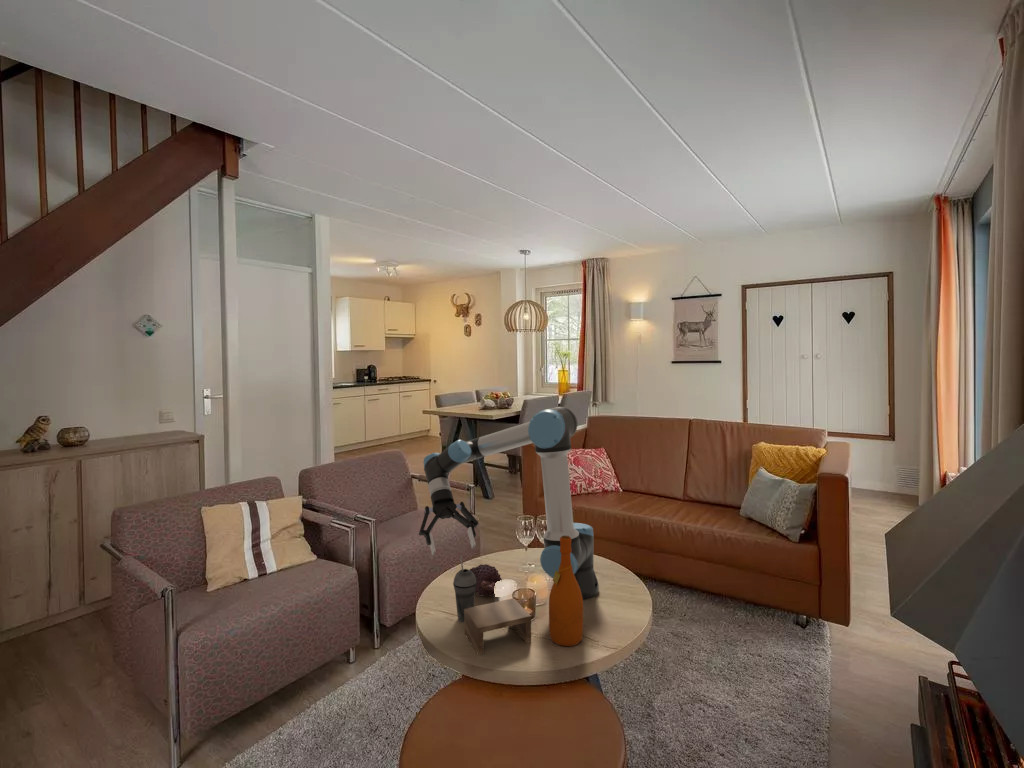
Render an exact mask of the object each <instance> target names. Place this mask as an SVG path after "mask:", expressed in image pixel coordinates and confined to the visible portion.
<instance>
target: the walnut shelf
mask: <svg viewBox="0 0 1024 768" xmlns="http://www.w3.org/2000/svg"><path fill="white" fill-rule="evenodd" d="M463 625H464V628H463V629H464V630H463V631H464V635H465V637H466V636H467V637H466V639H467V640H468V641H469V643H470V644H471V647H473V649H474V650H476V651H477V652H476V651H475V652H476V654H477V653H478V654H481V655H484V654H483V653H484V652H485V651H484V633H487V632H490V631H494V630H495V631H496V630H499V629H503V628H507V627H512V628H513V629H514V630H515V631H516V632H517V634H519V636H520V637H521V639H522V640H523V641H524V642H525V643H527V644H528V643H530V642H532V615H531V614H530V613H529V612H528V611H527V610H526V609H525V608H524V607H523V606H522V605H521V604H520V603H519V602H518V601H517V600H516V598H509V599H504V600H499V601H495V602H489V603H485V604H480V605H476V606H475V605H474V607H471V608H466V609H464V623H463ZM478 654H477V655H478Z"/></svg>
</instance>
